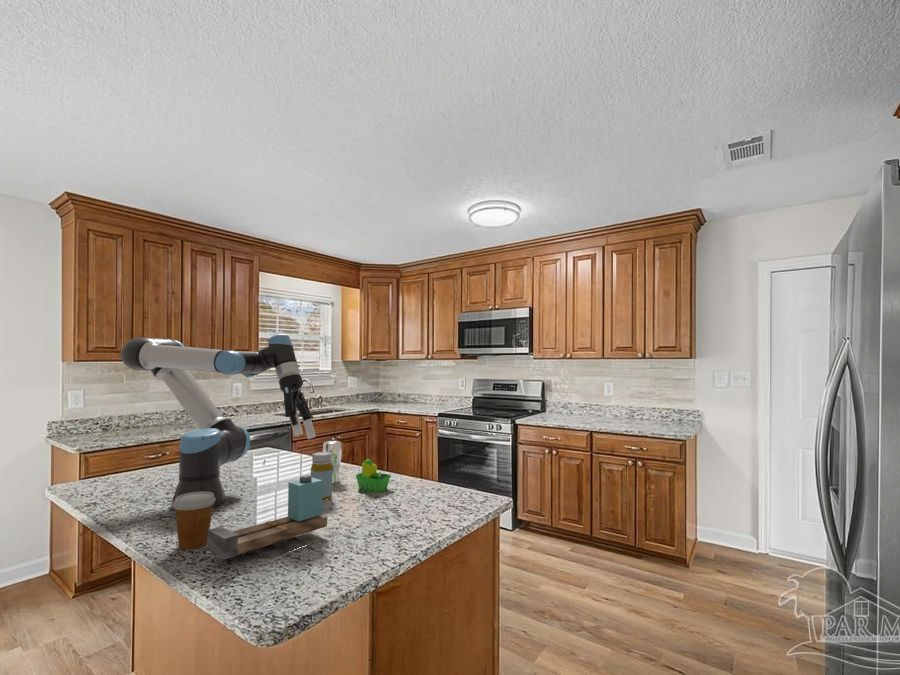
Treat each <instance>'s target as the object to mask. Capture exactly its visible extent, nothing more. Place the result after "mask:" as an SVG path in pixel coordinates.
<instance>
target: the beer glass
mask: <svg viewBox="0 0 900 675" xmlns="http://www.w3.org/2000/svg"><path fill="white" fill-rule="evenodd" d="M322 452H330V453H331V465H332V482H337V481H339V480H340V481H341V479H340V478H341V477H340V465H341V461H342V442H341V441H340V440H327V441H323V448H322ZM340 481H339V482H340ZM337 483H338V482H337Z"/></svg>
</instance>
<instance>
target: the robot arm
mask: <svg viewBox="0 0 900 675" xmlns="http://www.w3.org/2000/svg"><path fill="white" fill-rule="evenodd" d="M267 344H268V345H267V346H265V347H264V348H262V349H260V350H257V351H243V350H242V351H241V350H228V349H227V350H226V349H225V350H224V349H215V348H214V349H213V348H204V347H203V348H202V347H192V346H185V345H184V344H183V343H182V342H180V341H178V340H175V339H172V338H168V337H165V338H164V337H163V338H155V337H142V336H139V337H135V338H132V339H129V340H127V341H126V342H125V343H124V344H123V345H122V348H121V349H120V350H121V351H120V359H121V361H122V363H123V364H124V365H125V366H126V367H128V368H130V369H131V370H134V371H150V372H151V373H152V375H153V376H154V377H155V379H156V380H157V381H161V382H164V383H165V384H166V386H167V388H168V389H169V391H171V393H172V394H173V396H174V397H175V398H176V400H177V401H178V402H179V404H180V406H181V407H182V408H183V410H184V411H185V412H186V414H187V415H188V417H189V418H190V419H191V421H192V423H194V425H195V426H196V428H197V429H193V430H191V431H188V432H185V433H184V434H183V435H182V436H181V437H180V440H179V441H180V442H179V446H178V448H179V457H178V458H179V464H178V465H179V468H178V483H177V486H176V489H175V491H174V494H173V497H172V500H171V509H172V510H174V511H175V508H174V506H173V503H174V501H175V498H176V497H178V496H180V495H183V494H187V493H192V492H211V493H213V494H214V497H215V498H216V500H215V501H214V504H213V508H216V507H218V506H221V505H223V504H224V503H225V501H226V499H225V498H226V495H225V494H226V493H225V491H224V488H223V485H222V481H221V478H220V477H221V476H220V475H221V474H220V473H221V472H220V470H221V468H220V467H221V466H222V465H225V464H228V463H231V462H232V463H233V462H235V461H237V460H239V459H241V458H242V457H244V456H245V455H246V454H247V453H248V451H249V450H250V446H251V445H250V444H251V437H250V434H249V431H248V430H247V429H246V428H244V427H242V426H238V425H235V424H234V422H233V421H232V419H231V418H229V417H224V416H223V415H222V413H221V411H219V409H218V408H217V407H216V405H215V404H214V402H213V401H212V400H211V398H210V396H208V394H207V393H206V392H205V390H204V389H203V388H202V386H201V385H200V383H199V382H198V381H197V379H196V378H195V377H194V375H193V374H192V373H191V371H194V372H195V371H196V372H197V371H198V372H208V373H217V374H218V373H219V374H223V375H228V376H229V375H230V376H231V375H232V376H234V375H240V374H241V375H242V376H244V377H246V378H252V377H254V376H258V375H260V374H262V373H264V372H267V371H268V370H271V369H273V368H274V369H275V373H276V378H277V380H278V384H279V388H280V391H282V393H283V399H284V401H283V402H284V411H285V414H284V415H285V417H286V418H289V422H290V426H291V429H292V434H293V437H298V436H300V435H302V434H304V432H303V428H304V430H305V435H306V437H307V440H310V439H313V438H316V435H317V434H316V432H315V429H314V425H313V421H312V419H314V415H313V414H312V413H311V412H312V411H310V408H309V405H308V403H307V401H306V398H305V395H304V392H303V391H302V392H301V391H300V390H299V389H300V388H301V387H303V385H304V382H303V378H302V375H300V374H301V372H300V367H301V366H300V364H298V361H297V358H296V352H295V350H294V344H293V343H292V340H291V336H290V335H288V334H285V333H280V334H279V333H278V334H275V335H272V336H271V337H270V338H268V340H267ZM297 411H298V412H299V414H300V416H301V418H302V423H303V426H304V427H302V425H301V421H300V416H299V414H297Z"/></svg>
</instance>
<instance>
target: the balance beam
mask: <svg viewBox="0 0 900 675" xmlns="http://www.w3.org/2000/svg"><path fill="white" fill-rule="evenodd" d="M327 527H328V516H325V515H323V514H322V515H319V516H316V517H312V518H309V519H305V520H302V521H296V520H293V519H291V518H288V515H287V516H284V517H281V518H277V519H274V520H269V521H266V522H262V523H259V524H255V525H253V526H248V527H244V528H241V529H238V530H233V531H232V530H229V529H227V528H225V527H223V526H217V527H214V528H210V529H209V530H208V539H207V544H206V547H207V548H206V549H207V551H209V552H210V553H212V554H213V555H215V556H217V557H218V558H220V559H222V560H224V561H225V560H227V559H230V558H234V557H237V556H239V555H241V554H245V553H248V552H251V551H255V552H256V553H258V554H260V555H262V556H264V557H266V558H268V559H270V560H271V559H274V558H277V557H280V556H282V555H285V553H286V554H288V553H287V552H289V551H292V550H294V549H297V548H299V547H302V546H305V545H309V543H308V541H305V540H302V539H300V538H298V536H301V535H305V534H307V533H311V532H313V531H314V532H315V531H317V530H320V529H323V528H327ZM292 552H293V551H292ZM289 553H290V552H289Z"/></svg>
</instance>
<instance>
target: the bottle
mask: <svg viewBox="0 0 900 675" xmlns="http://www.w3.org/2000/svg"><path fill="white" fill-rule="evenodd" d="M311 458H312V459H311V461H312V464H311V466H310V476H312V478H316V479H319V480H322V500H326V499H329V498H330V499H331V498H332V496H333V483H332V465H331V453H330V452H323V451H319V452H314V453H312V457H311ZM330 499H329V500H330ZM326 501H327V500H326Z"/></svg>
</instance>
